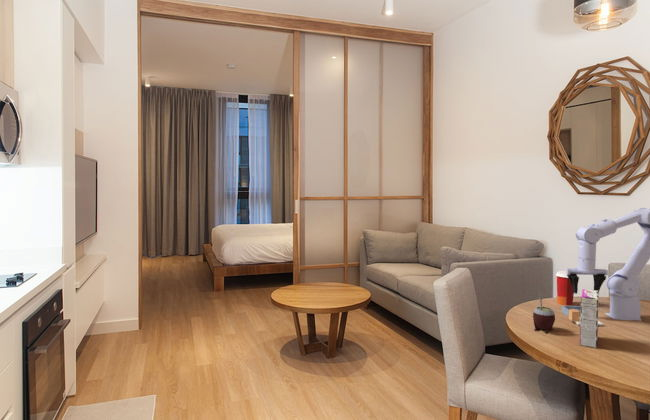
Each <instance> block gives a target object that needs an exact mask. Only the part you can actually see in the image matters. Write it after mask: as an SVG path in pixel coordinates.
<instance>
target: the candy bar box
mask: <svg viewBox="0 0 650 420" xmlns="http://www.w3.org/2000/svg"><path fill="white" fill-rule="evenodd" d="M599 293H600V291H599V292H598V291H596V290H594V289H587V288H585V289H584V288H582V290H581V299H580V306H581V324H580V325H579V326H580V336H579V338H580V339H579V340H580V341H579V344H580V346H582V347H587V348H594V349H597V348H598V336H599V335H598V333H599V332H598V331H599V330H598V329H599V325H598V321H599V299H600V298H599Z"/></svg>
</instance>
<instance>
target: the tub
mask: <svg viewBox="0 0 650 420" xmlns="http://www.w3.org/2000/svg"><path fill="white" fill-rule="evenodd" d="M569 309H580V310H578V311H579V312H580V317H581V305H571V306H565V305H561V313H562V314H564V315H565V316H566V317H568V318H569Z"/></svg>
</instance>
